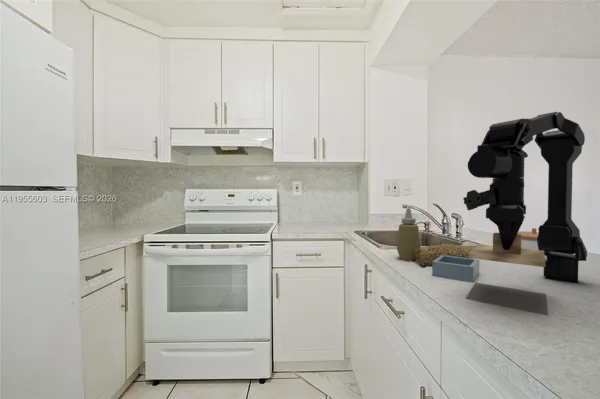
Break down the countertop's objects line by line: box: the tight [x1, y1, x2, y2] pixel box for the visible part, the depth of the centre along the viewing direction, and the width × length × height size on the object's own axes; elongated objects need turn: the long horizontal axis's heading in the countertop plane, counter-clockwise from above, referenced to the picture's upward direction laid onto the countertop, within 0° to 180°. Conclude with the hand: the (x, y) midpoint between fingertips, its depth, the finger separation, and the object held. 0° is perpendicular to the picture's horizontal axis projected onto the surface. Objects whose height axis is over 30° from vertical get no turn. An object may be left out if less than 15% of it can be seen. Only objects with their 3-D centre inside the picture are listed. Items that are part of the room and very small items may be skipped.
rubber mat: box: [465, 282, 549, 316], centre depth 66 cm, size 14×14×1 cm
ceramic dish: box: [431, 255, 480, 283], centre depth 83 cm, size 10×10×4 cm
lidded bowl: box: [517, 227, 547, 260], centre depth 100 cm, size 13×13×11 cm
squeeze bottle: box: [396, 207, 421, 261], centre depth 105 cm, size 8×8×18 cm
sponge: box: [415, 243, 475, 267], centre depth 98 cm, size 13×8×20 cm
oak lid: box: [468, 232, 545, 268], centre depth 66 cm, size 13×13×5 cm
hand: (506, 248), depth 66 cm, fingers closed on oak lid, 3 cm apart
